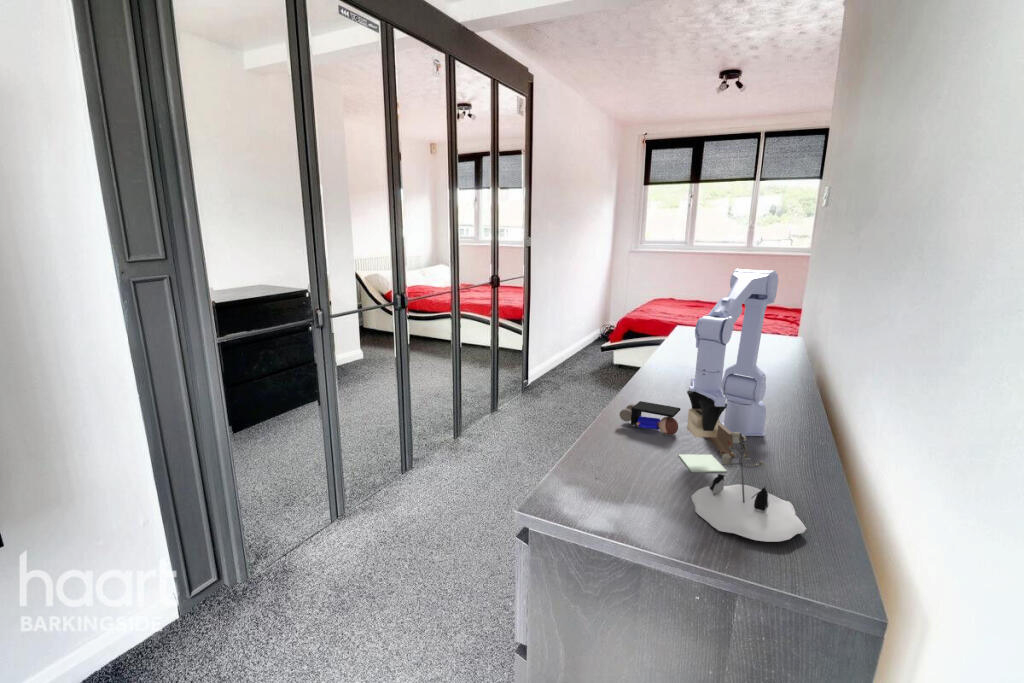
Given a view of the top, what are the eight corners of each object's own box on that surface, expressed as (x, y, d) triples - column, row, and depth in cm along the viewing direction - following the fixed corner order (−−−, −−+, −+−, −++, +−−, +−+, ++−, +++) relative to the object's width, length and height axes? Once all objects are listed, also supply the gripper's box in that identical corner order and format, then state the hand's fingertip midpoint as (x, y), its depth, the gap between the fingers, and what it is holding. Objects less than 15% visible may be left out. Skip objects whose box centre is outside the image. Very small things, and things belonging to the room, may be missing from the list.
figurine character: (619, 432, 130) (674, 440, 121) (617, 406, 128) (673, 412, 119) (628, 424, 135) (681, 432, 126) (627, 399, 134) (681, 404, 125)
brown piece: (713, 436, 124) (715, 415, 123) (734, 457, 112) (737, 434, 111) (702, 436, 124) (704, 415, 123) (722, 457, 112) (725, 433, 111)
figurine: (830, 533, 82) (835, 444, 80) (746, 554, 77) (749, 459, 74) (743, 487, 101) (746, 414, 99) (671, 501, 96) (672, 424, 93)
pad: (711, 456, 113) (711, 454, 112) (726, 472, 105) (726, 470, 105) (678, 455, 112) (678, 454, 112) (691, 472, 105) (691, 470, 105)
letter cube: (707, 428, 111) (710, 408, 110) (716, 437, 106) (719, 416, 105) (686, 428, 111) (688, 408, 110) (695, 437, 106) (697, 416, 105)
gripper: (680, 360, 112) (675, 413, 115) (704, 378, 98) (698, 438, 101) (709, 361, 112) (703, 414, 115) (738, 378, 98) (730, 438, 101)
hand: (703, 425), depth 108 cm, fingers closed on letter cube, 5 cm apart
